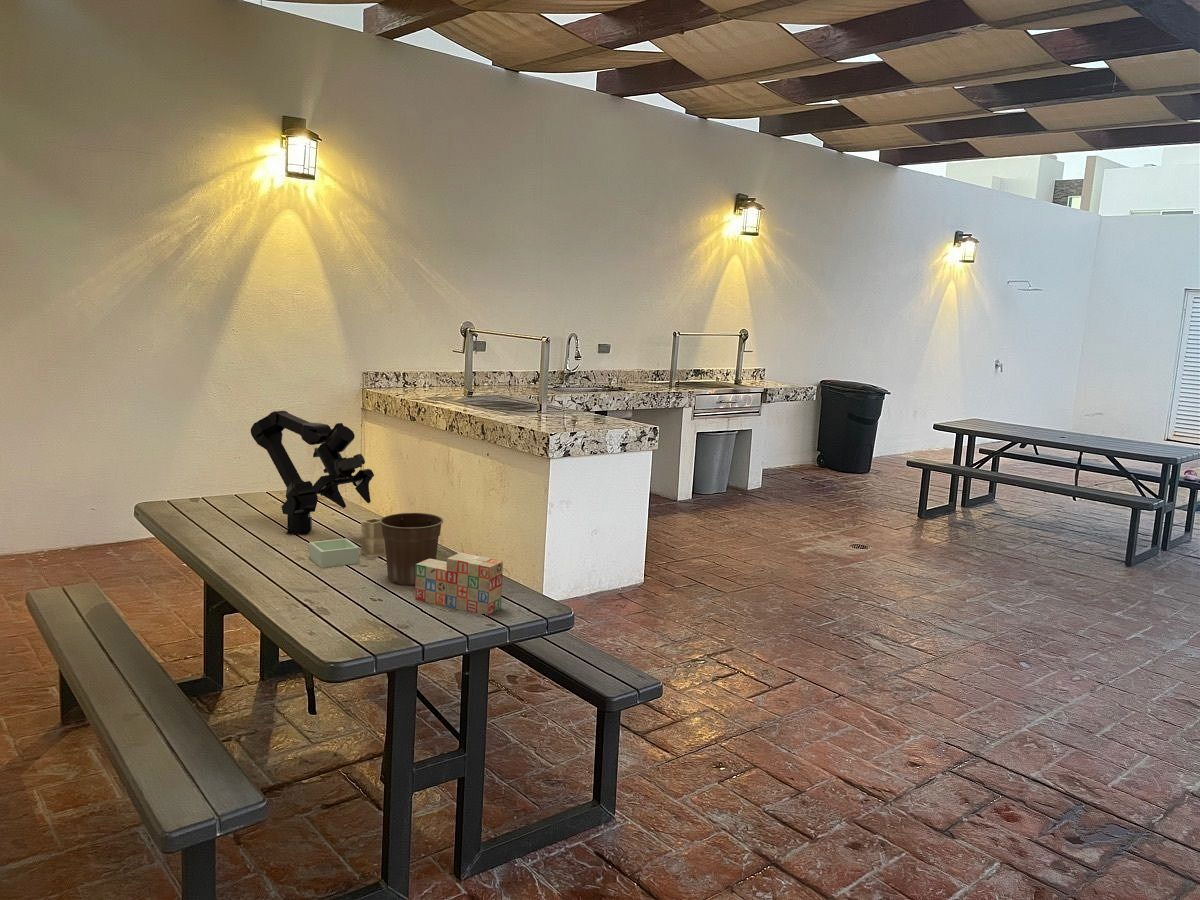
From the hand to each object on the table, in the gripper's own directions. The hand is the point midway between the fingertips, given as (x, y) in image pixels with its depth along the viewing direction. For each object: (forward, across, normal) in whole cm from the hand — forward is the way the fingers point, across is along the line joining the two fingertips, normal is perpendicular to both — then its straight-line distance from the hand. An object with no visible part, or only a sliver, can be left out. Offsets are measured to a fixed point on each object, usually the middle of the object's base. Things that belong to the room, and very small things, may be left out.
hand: (357, 505), depth 266 cm
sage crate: (+13, -12, +5) cm, 19 cm away
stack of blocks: (+47, -17, -31) cm, 59 cm away
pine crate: (+15, -1, +3) cm, 15 cm away
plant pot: (+32, -10, -14) cm, 36 cm away
